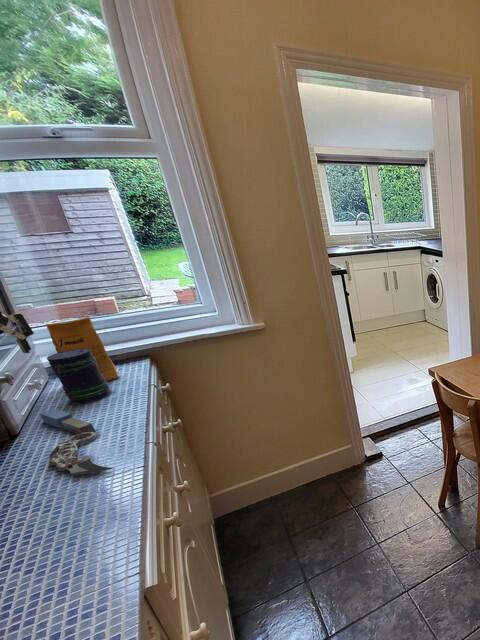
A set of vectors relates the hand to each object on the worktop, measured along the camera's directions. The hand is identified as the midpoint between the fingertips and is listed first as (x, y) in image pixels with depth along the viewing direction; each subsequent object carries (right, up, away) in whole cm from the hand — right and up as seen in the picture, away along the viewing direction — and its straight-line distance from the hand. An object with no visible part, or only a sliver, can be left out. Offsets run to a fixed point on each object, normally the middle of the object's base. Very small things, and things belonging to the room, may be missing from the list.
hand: (3, 358), depth 107 cm
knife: (+29, -25, -8) cm, 39 cm away
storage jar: (-3, -11, +25) cm, 27 cm away
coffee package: (-14, -6, +38) cm, 41 cm away
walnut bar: (+15, -19, +5) cm, 25 cm away
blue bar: (+5, -18, +9) cm, 21 cm away
